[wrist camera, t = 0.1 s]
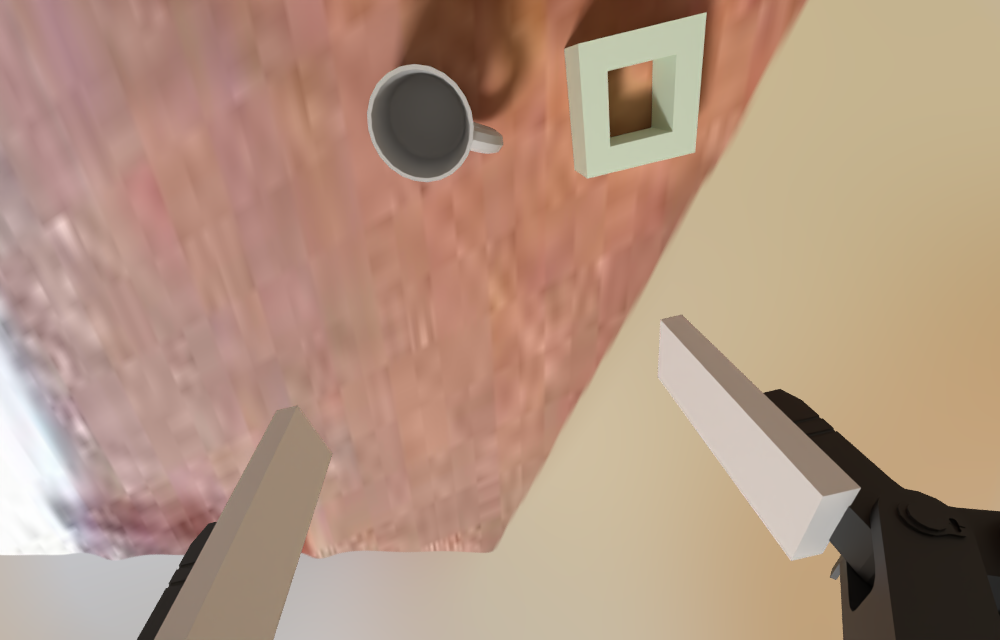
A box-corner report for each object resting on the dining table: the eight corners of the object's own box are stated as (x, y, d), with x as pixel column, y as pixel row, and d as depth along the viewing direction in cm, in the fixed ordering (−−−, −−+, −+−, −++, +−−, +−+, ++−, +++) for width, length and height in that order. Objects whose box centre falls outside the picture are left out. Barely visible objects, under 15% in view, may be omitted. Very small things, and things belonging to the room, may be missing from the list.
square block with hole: (564, 48, 31) (578, 43, 28) (678, 20, 31) (706, 12, 28) (574, 170, 37) (587, 178, 33) (672, 146, 37) (695, 152, 33)
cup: (390, 58, 30) (371, 48, 23) (506, 93, 33) (523, 94, 25) (382, 151, 34) (363, 168, 26) (487, 177, 36) (497, 200, 29)
